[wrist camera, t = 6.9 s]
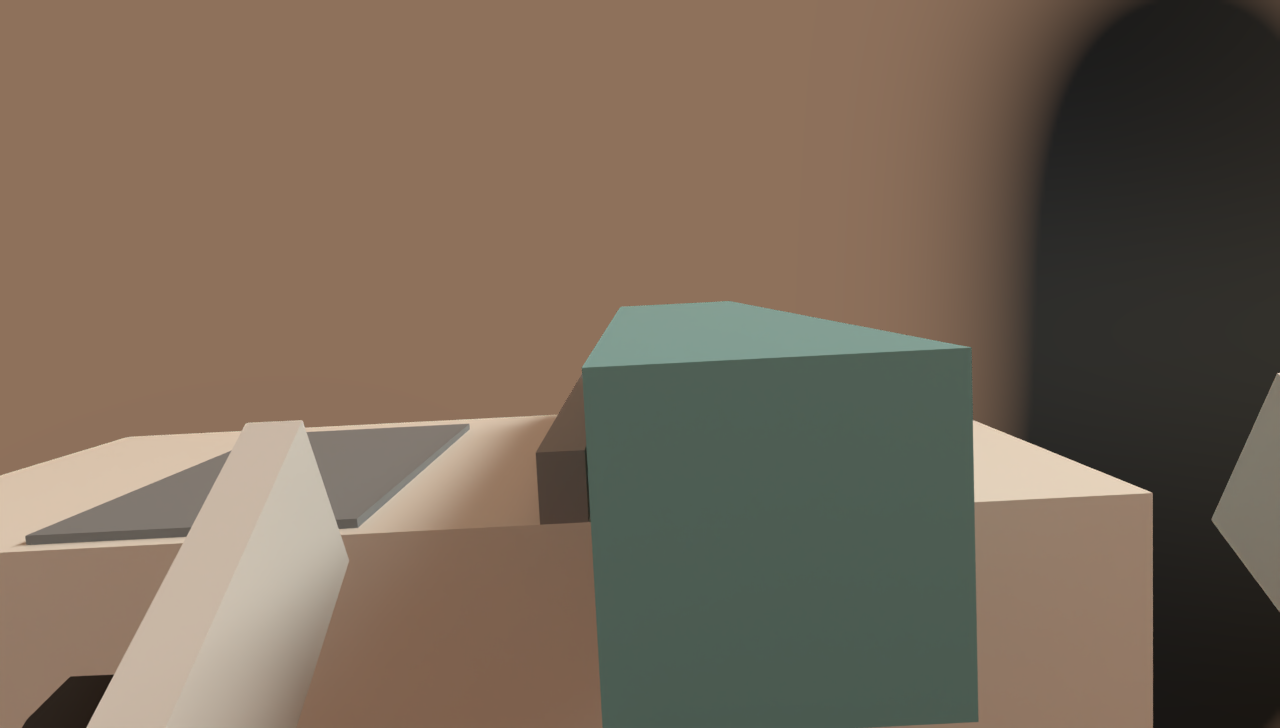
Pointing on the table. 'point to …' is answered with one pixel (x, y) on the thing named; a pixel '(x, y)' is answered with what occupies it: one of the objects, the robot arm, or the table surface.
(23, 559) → the tall cream box
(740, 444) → the teal block
